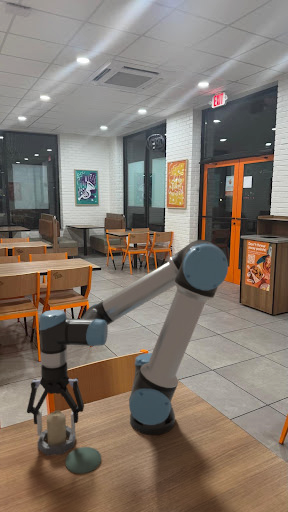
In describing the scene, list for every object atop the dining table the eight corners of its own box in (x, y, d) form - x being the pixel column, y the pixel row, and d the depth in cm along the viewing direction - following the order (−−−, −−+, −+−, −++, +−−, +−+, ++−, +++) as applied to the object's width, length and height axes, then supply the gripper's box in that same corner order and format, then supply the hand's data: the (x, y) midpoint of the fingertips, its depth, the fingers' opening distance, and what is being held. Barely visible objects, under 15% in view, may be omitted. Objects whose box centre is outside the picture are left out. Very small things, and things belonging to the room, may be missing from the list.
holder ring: (77, 431, 115) (76, 425, 115) (71, 454, 104) (71, 447, 104) (43, 432, 114) (43, 426, 114) (35, 455, 104) (34, 448, 104)
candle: (61, 450, 106) (60, 419, 105) (44, 447, 107) (43, 417, 106) (69, 438, 112) (68, 408, 110) (52, 436, 113) (51, 406, 111)
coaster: (102, 448, 107) (102, 446, 107) (99, 473, 97) (99, 471, 97) (68, 449, 107) (68, 447, 107) (62, 474, 97) (62, 472, 97)
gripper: (92, 356, 110) (94, 424, 113) (20, 358, 109) (23, 425, 112) (90, 367, 103) (91, 439, 106) (12, 369, 102) (16, 441, 105)
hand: (56, 432), depth 109 cm, fingers open, 9 cm apart
